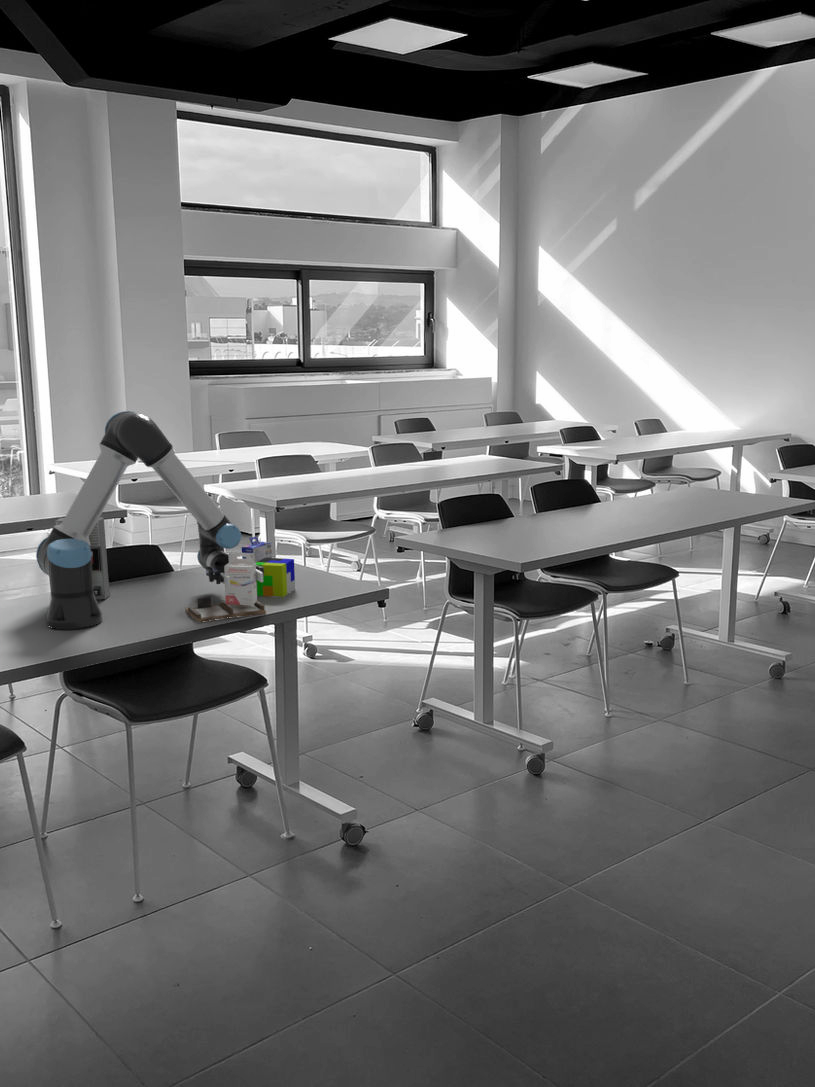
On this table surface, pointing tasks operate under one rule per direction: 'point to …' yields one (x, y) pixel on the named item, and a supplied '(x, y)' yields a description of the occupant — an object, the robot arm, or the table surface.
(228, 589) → the ink cartridge box
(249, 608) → the tag dock board
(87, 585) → the robot arm
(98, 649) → the table surface
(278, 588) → the puzzle toy
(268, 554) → the ink cartridge box
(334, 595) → the table surface
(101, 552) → the tall grey box
